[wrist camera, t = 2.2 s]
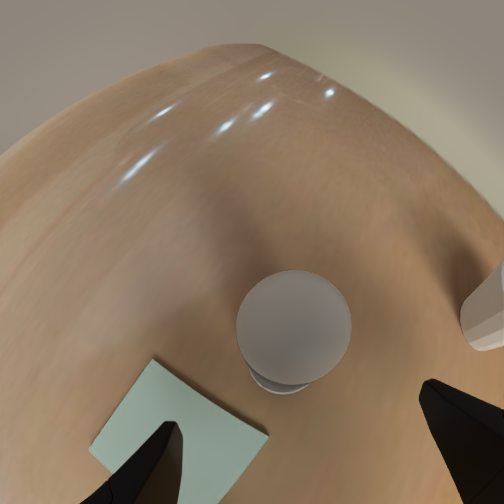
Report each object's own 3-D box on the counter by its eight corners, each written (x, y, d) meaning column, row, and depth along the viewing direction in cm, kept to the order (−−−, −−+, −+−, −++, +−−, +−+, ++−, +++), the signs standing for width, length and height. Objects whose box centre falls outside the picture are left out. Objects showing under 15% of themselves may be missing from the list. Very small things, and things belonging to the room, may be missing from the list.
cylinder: (325, 351, 19) (389, 282, 9) (293, 406, 18) (328, 409, 7) (271, 322, 21) (272, 224, 10) (237, 374, 19) (196, 332, 8)
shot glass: (446, 342, 19) (498, 313, 13) (461, 275, 21) (502, 235, 15) (496, 367, 17) (549, 346, 10) (507, 303, 19) (550, 271, 13)
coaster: (269, 435, 17) (269, 436, 16) (194, 528, 13) (192, 531, 12) (155, 360, 20) (152, 358, 19) (92, 449, 16) (88, 449, 15)
